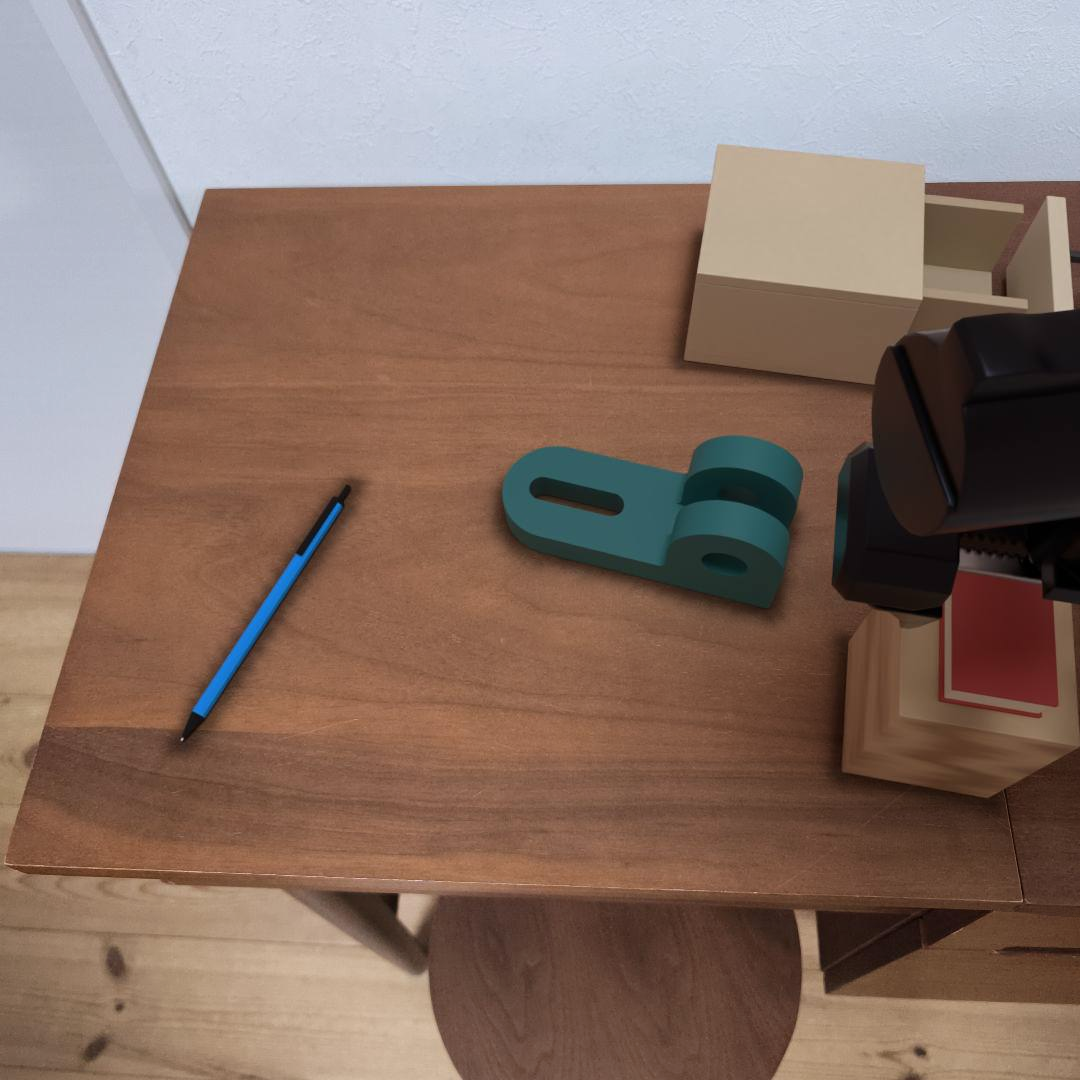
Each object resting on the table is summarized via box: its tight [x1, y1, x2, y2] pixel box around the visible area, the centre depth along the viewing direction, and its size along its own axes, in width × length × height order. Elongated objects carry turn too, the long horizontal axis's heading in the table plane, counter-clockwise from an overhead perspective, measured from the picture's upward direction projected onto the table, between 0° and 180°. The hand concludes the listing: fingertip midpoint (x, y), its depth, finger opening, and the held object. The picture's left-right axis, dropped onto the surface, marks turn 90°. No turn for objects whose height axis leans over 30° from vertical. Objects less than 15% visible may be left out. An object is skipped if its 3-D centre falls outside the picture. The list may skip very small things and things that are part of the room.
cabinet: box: [683, 143, 926, 386], centre depth 65 cm, size 14×12×9 cm
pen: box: [180, 484, 352, 742], centre depth 59 cm, size 1×19×1 cm, turn 154°
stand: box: [841, 601, 1080, 799], centre depth 50 cm, size 8×8×11 cm
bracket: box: [501, 434, 804, 610], centre depth 58 cm, size 18×7×8 cm, turn 73°
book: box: [939, 572, 1059, 718], centre depth 44 cm, size 4×6×2 cm
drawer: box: [907, 193, 1080, 334], centre depth 63 cm, size 18×11×7 cm, turn 79°
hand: (1004, 634), depth 43 cm, fingers open, 9 cm apart
